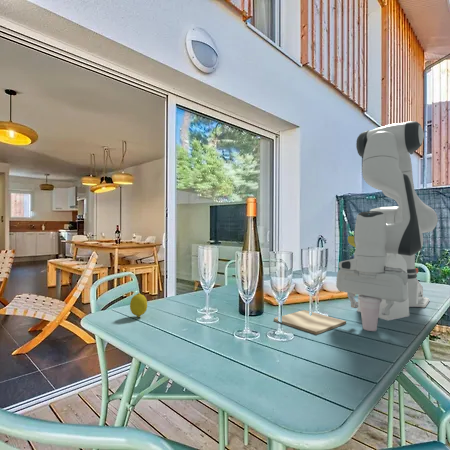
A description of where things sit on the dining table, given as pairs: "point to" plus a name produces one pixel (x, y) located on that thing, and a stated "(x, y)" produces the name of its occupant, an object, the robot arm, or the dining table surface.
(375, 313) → the smoothie
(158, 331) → the dining table surface
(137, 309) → the lemon
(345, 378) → the dining table surface
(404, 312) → the milk
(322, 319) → the oak board
